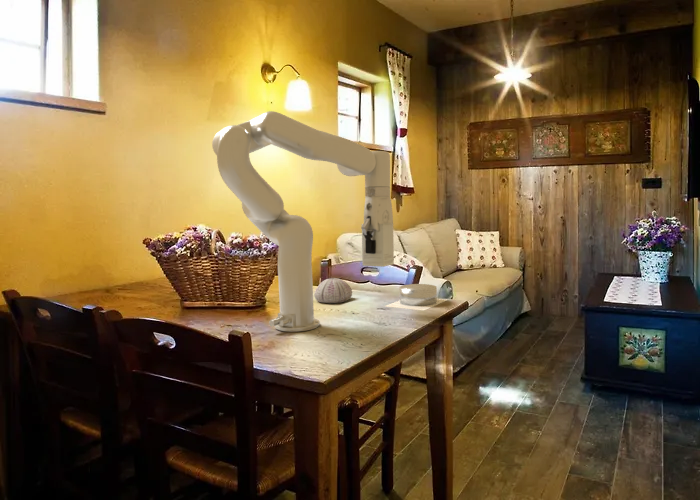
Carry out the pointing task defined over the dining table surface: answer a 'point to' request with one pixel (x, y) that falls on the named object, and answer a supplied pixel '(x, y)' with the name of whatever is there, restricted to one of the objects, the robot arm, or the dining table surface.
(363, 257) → the supplement box
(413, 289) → the round metal tin
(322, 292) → the sea urchin shell
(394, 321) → the dining table surface
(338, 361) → the dining table surface
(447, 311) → the dining table surface
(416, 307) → the base board
